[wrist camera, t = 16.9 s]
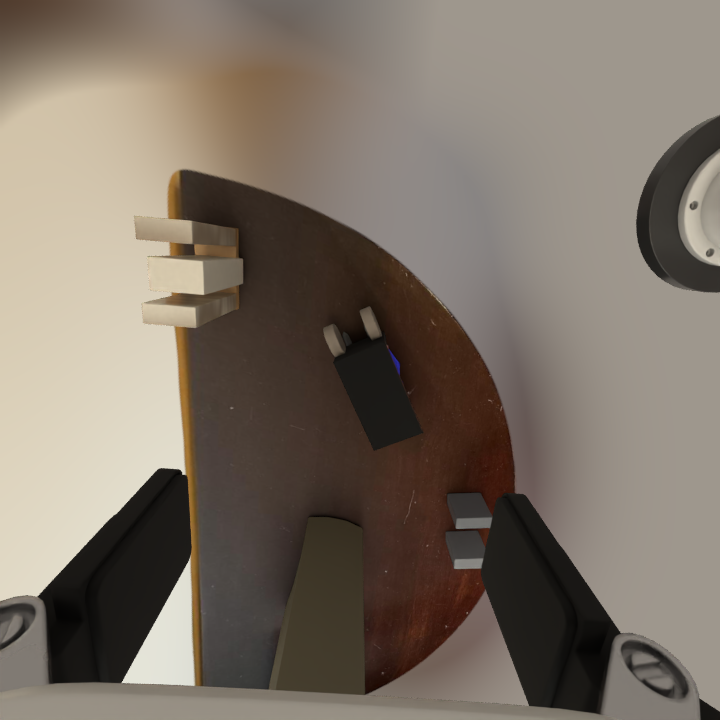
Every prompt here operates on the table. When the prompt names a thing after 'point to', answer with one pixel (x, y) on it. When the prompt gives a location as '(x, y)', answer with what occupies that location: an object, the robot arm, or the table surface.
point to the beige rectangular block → (194, 273)
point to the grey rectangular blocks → (466, 514)
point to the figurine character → (374, 383)
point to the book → (324, 614)
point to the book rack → (207, 242)
